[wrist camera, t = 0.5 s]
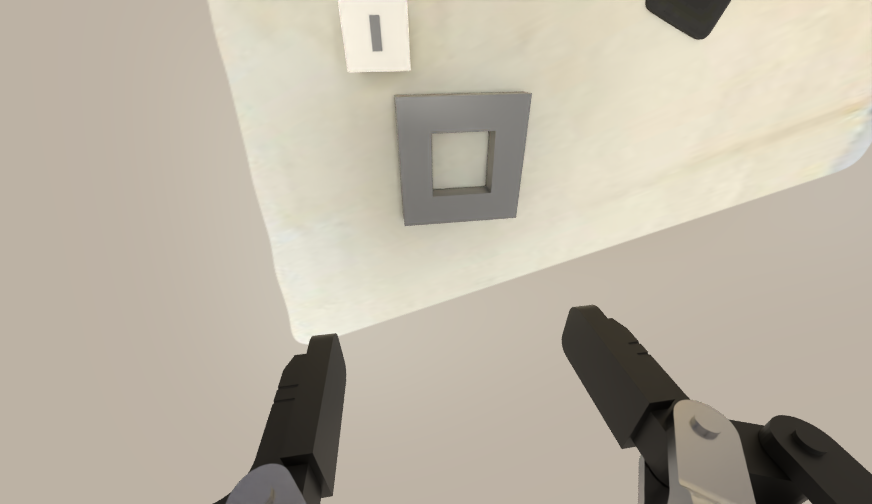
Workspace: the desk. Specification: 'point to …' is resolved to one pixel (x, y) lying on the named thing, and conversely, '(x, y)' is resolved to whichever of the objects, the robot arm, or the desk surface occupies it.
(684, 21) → the smartphone
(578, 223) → the desk surface
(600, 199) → the desk surface
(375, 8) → the charger
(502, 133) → the socket plate
